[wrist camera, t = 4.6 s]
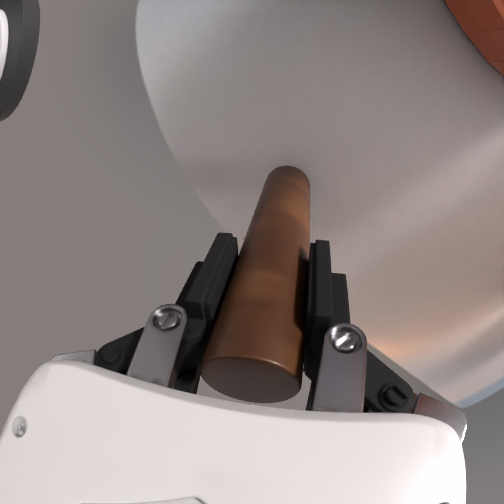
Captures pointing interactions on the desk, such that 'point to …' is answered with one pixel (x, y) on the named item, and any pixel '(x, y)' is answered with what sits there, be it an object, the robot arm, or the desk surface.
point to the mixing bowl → (483, 27)
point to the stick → (265, 299)
